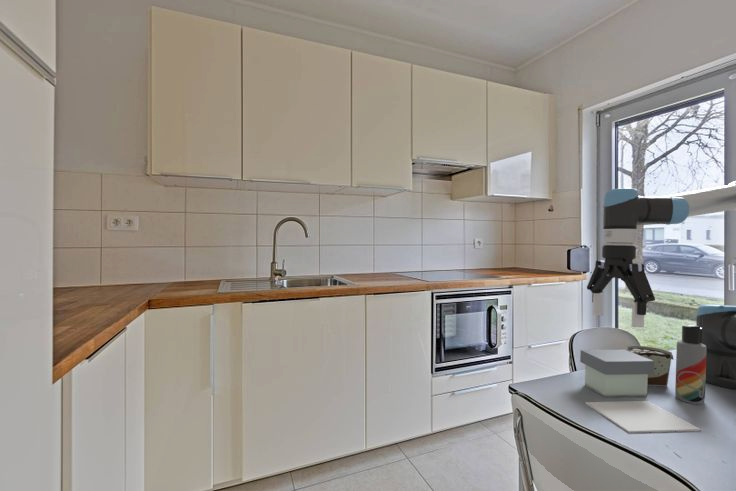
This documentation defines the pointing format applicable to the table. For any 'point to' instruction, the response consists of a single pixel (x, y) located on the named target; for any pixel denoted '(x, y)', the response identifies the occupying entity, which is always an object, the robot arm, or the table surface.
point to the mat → (641, 417)
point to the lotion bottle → (691, 366)
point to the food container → (655, 363)
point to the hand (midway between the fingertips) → (616, 320)
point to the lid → (617, 362)
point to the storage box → (616, 384)
